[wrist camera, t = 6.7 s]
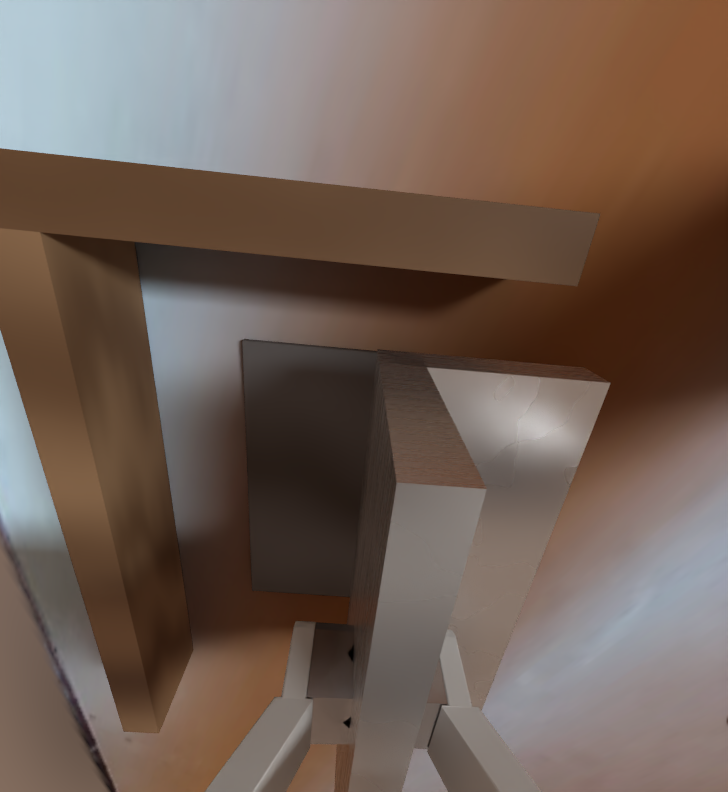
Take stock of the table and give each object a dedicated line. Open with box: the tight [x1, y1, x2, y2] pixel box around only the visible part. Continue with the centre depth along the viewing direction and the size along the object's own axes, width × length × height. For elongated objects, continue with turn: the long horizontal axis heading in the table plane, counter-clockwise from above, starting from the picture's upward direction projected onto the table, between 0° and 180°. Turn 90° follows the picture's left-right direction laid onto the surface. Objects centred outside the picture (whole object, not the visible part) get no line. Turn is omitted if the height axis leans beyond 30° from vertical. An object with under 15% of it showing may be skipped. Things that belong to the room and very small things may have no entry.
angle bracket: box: [334, 349, 611, 792], centre depth 9 cm, size 14×5×5 cm, turn 175°
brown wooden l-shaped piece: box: [0, 149, 600, 733], centre depth 13 cm, size 22×14×4 cm, turn 175°
